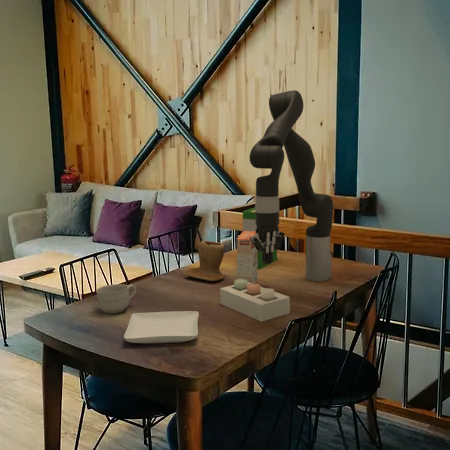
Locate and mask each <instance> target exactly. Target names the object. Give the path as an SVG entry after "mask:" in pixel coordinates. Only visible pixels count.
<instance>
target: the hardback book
mask: <svg viewBox="0 0 450 450" xmlns="http://www.w3.org/2000/svg"><path fill="white" fill-rule="evenodd" d="M256 229H257V226H256V223H255V206H254V207H252V208H249V209H245V210H243V211H242V232H243V231H256ZM259 242H260V240H259ZM276 243H277V242H276ZM277 260H278V249H275V250H274V251H273V261H272V263H274V262H276V261H277ZM269 265H270V264H264V263H263V261H262V252H261V251H258V266H257V271H260V270H261V269H264V268H265V267H267V266H269Z"/></svg>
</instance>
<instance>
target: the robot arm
mask: <svg viewBox="0 0 450 450" xmlns="http://www.w3.org/2000/svg"><path fill="white" fill-rule="evenodd" d="M268 108H269V112H270V114H271V117H272V119H273V120H272V122H271V123H270V124H268V126H267V128H266V130H265V132H264V134H263V137H262V138H260V140H258V141H257V142H256V143H255V144H254V145H253V146H252V148H251V151H250V153H249V163H250V165H251V166H252V167H253V168H255V169H262V170H263V169H265V170H266V169H267V170H268V169H269V170H270V169H271V170H270V171H271V172H270V173H269V174H267V175H263V176H262V175H261V176H258V177H257V178H256V180H255V201H254V202H255V206H254V207H255V223H256V226H257V229H256V234H255V235H254V236H253V237H252V236H251V237H250V240H251V242H252V243H253V245H254V246H255V248H256V249H257V251H261V252H262V261H263V263H264V264H269V265H272V263H273V262H272V261H273V251H274V250H275V249H277V250H278V249H279V247H280V245H281V242H283V241H282V240H283V239H284V237H285V235H286V234H285V232H282V231H281V230H280V227H279V224H280V198H279V197H280V196H279V183H280V177H281V172H282V169H283V168H282V167H283V164H284V161H285V153H286V159H287V161H288V163H289V166H290V170H291V173H292V174H293V179H294V181H295V185H296V189H297V193H298V199H299V202H300V203H299V204H300V206H301V210H302V212H303V214H304V215H305V216H307V217H309V218H316V222H315V224H313V225H310V226H307V227H306V230H305V279H306V280H308V281H311V282H325V281H329V280H330V279H331V278H332V265H333V264H332V261H333V260H332V257H333V256H332V253H331V230H332V228H333V216H334V202H333V199H332V197H331V196H330V195H329V194H326V193H325V194H324V193H315V191H314V189H313V186H312V178H313V177H312V176H313V174H314V173H315V168H316V160H315V155H314V153H313V149H312V147H311V145H310V143H309V142H308V141H306V140H305V138H303V137H302V136H301V135H300V134H299V133H297V132H296V131H295V130H294V129H293V127H294V125H295V124H296V123H297V121H298V120H299V119H300V117H301V116H302V113H303V111H304V99H303V97H302V94H301V93H300V91H298V90H297V89H296V90H288V91H283V92H278V93H274V94H272V95H271V96H269V98H268ZM284 150H285V152H284ZM259 240H260V242H259ZM276 242H277V243H276Z"/></svg>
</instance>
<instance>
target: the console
mask: <svg viewBox="0 0 450 450" xmlns="http://www.w3.org/2000/svg"><path fill="white" fill-rule="evenodd" d="M248 284H252V283H249V282H247V285H248ZM260 287H261V289H265V287H263V286H261V285H260ZM219 303H220V305H223V306H225V307H226V308H229V309H231V310H234V311H236V312H238V313H240V314H243V315H244V316H248V317H250V318H252V319H253V320H256V321H259V322H261V323H262V322H265V321H269V320H272V319H275V318H278V317H282V316H286V315H288V314H291V297H290V296H288V295H285V294H283V293H279V292H276V291H274V300H270V301H265V300H262V299H261V293H260V294H259V295H249V294H247V289H246V290H236V289H235V288H234V284H233V285H227V286H223V287H220V288H219Z"/></svg>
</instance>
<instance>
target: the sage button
mask: <svg viewBox="0 0 450 450" xmlns="http://www.w3.org/2000/svg"><path fill="white" fill-rule="evenodd" d="M233 282H234V283H233V285H234V288H235V289H236V290H246V289H247V280H246V279H237V278H236V279H234V281H233Z"/></svg>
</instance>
